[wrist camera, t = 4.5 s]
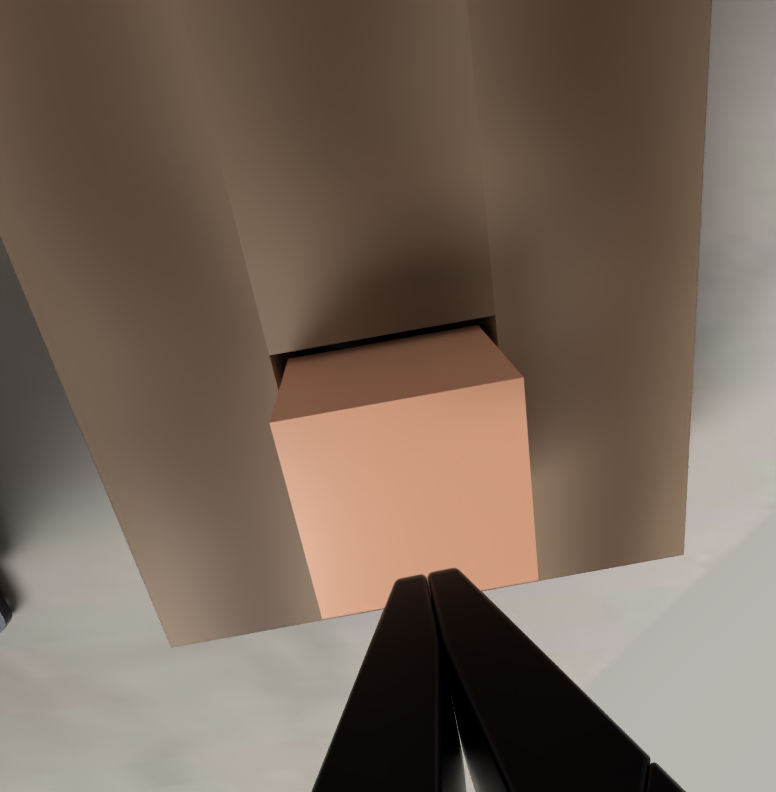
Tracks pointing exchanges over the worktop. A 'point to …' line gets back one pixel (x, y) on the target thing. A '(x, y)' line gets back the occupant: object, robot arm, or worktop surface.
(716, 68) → the worktop surface
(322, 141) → the button panel
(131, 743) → the worktop surface
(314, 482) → the terracotta button
